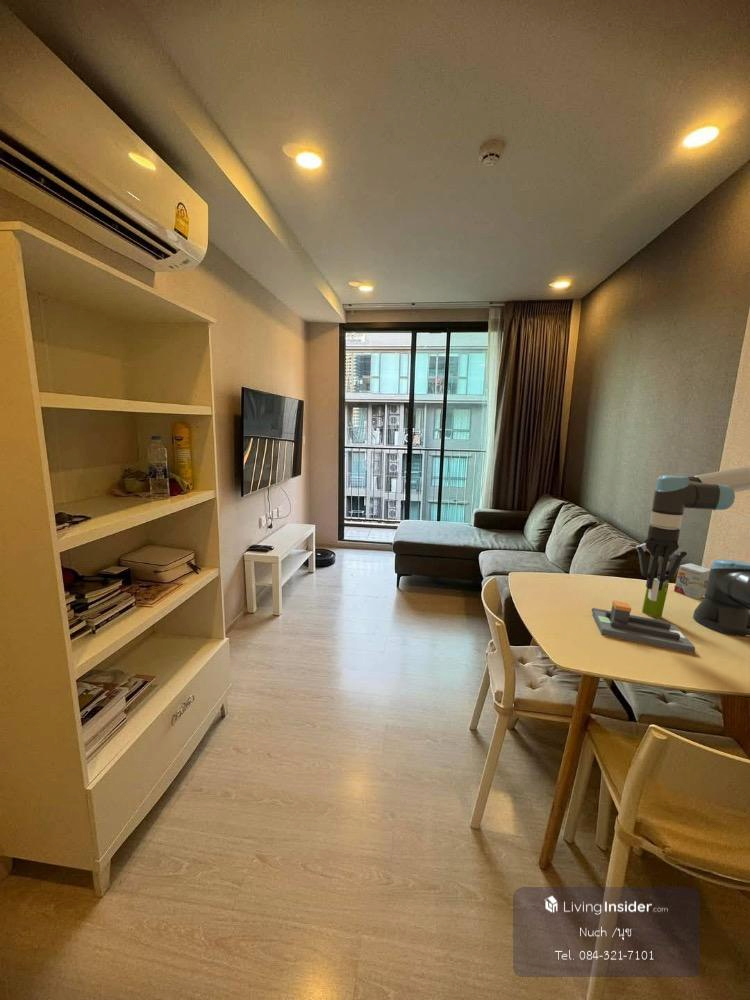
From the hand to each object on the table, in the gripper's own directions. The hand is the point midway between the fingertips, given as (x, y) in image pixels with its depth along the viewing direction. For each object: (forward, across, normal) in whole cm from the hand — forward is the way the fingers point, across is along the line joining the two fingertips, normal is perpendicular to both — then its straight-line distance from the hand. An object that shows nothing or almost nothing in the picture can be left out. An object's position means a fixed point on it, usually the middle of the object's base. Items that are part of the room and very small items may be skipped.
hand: (651, 598), depth 118 cm
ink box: (+13, -30, -49) cm, 59 cm away
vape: (+13, -7, -18) cm, 23 cm away
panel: (+12, +2, 0) cm, 12 cm away
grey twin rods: (+12, +2, -9) cm, 15 cm away
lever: (+9, +8, 0) cm, 12 cm away
